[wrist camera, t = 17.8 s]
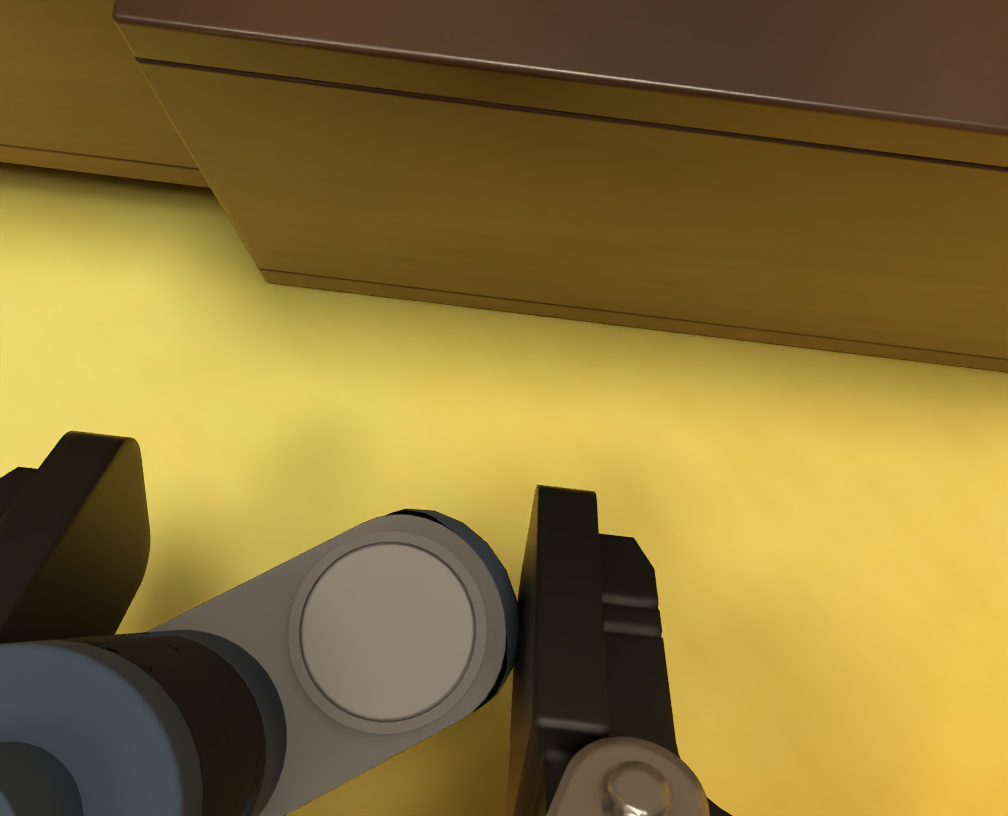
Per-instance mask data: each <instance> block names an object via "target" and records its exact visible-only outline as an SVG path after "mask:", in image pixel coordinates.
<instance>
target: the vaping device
mask: <svg viewBox="0 0 1008 816" xmlns="http://www.w3.org/2000/svg"><path fill="white" fill-rule="evenodd" d="M519 634H520V627H519V613H518V602H517V599H516V596H515V593H514V591H513V588H512V585H511V582H510V579H509V577H508V574H507V571H506V569H505V568H504V566H503V565H502V564H501V562H500V561H499V559H498V558H497V556H496V555H495V553H494V552H493V550H492V549H491V548H490V546H489V545H488V543H487V542H485V541H484V540H483V539H482V538H481V537H479V536H478V535H477V534H476V533H475V532H473V531H472V530H471V529H470V528H469V527H467V526H466V525H465V524H464V523H463V522H460V521H458V520H455V519H453V518H451V517H448V516H446V515H444V514H441V513H439V512H436V511H431V510H417V509H403V510H400V511H396V512H393V513H390V514H388V515H385V516H382V517H377V518H374V519H372V520H369V521H367V522H364V523H362V524H360V525H358V526H356V527H354V528H352V529H350V530H348V531H346V532H344V533H342V534H340V535H338V536H336V537H334V538H332V539H330V540H328V541H326V542H324V543H322V544H320V545H318V546H316V547H314V548H312V549H310V550H308V551H306V552H304V553H302V554H300V555H298V556H296V557H294V558H292V559H290V560H288V561H286V562H284V563H282V564H280V565H278V566H276V567H274V568H272V569H271V570H269V571H267V572H265V573H263V574H261V575H259V576H257V577H255V578H253V579H251V580H249V581H247V582H245V583H243V584H241V585H239V586H237V587H235V588H233V589H231V590H229V591H227V592H225V593H223V594H221V595H219V596H217V597H215V598H213V599H211V600H209V601H207V602H205V603H203V604H201V605H199V606H197V607H195V608H193V609H191V610H189V611H187V612H185V613H183V614H181V615H179V616H177V617H175V618H173V619H171V620H169V621H167V622H165V623H163V624H161V625H159V626H157V627H155V628H153V629H151V630H150V631H148V632H143V633H135V634H133V633H131V634H127V635H126V634H122V635H121V634H118V635H107V636H106V635H105V636H93V637H80V638H68V639H55V640H43V641H30V642H17V643H5V644H0V816H285V815H287V814H289V813H290V812H292V811H294V810H296V809H298V808H300V807H301V806H303V805H305V804H307V803H309V802H311V801H312V800H314V799H316V798H318V797H320V796H322V795H324V794H325V793H327V792H329V791H331V790H333V789H335V788H336V787H338V786H340V785H342V784H344V783H346V782H348V781H349V780H351V779H353V778H355V777H357V776H359V775H360V774H362V773H364V772H366V771H368V770H370V769H371V768H373V767H375V766H377V765H379V764H381V763H383V762H384V761H386V760H388V759H390V758H392V757H394V756H395V755H397V754H399V753H401V752H403V751H405V750H406V749H408V748H410V747H412V746H414V745H416V744H418V743H419V742H421V741H423V740H425V739H427V738H429V737H430V736H432V735H434V734H436V733H438V732H440V731H442V730H443V729H445V728H447V727H449V726H451V725H453V724H454V723H456V722H458V721H460V720H461V719H463V718H464V717H466V716H467V715H469V714H470V713H472V712H474V711H476V710H477V709H479V708H480V707H482V706H483V705H485V704H486V703H487V702H489V701H490V700H491V699H492V698H493V697H495V696H496V695H497V694H498V693H499V691H500V689H501V688H502V686H503V684H504V683H505V681H506V679H507V677H508V676H509V674H510V672H511V671H512V669H513V667H514V662H515V658H516V653H517V648H518V642H519ZM89 641H90V642H89ZM88 642H89V643H88ZM92 642H93V643H92ZM95 643H96V644H95Z"/></svg>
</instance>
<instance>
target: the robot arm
mask: <svg viewBox="0 0 1008 816" xmlns="http://www.w3.org/2000/svg"><path fill="white" fill-rule="evenodd" d="M149 551H150V527H149V518H148V510H147V501H146V493H145V484H144V476H143V468H142V459H141V452H140V448H139V445H138V443H137V441H136V440H135V439H134V438H129V437H120V436H112V435H104V434H95V433H87V432H78V431H70V432H67V433H66V434H65V435H64V436H63V437H62V438H61V439H60V440H59V442H58V443H57V444H56V446H55V447H54V448H53V450H52V451H51V452H50V454H49V455H48V456H47V458H46V459H45V460H44V462H43V463H42V464H41V466H40V467H39V468H38V469H33V468H25V467H17V468H16V469H14V470H12V471H11V472H9V473H8V474H6V475H4V476H3V477H1V478H0V644H5V643H17V642H30V641H43V640H55V639H68V638H80V637H93V636H105V635H106V636H107V635H114V634H115V633H116V631H117V629H118V627H119V625H120V623H121V621H122V619H123V617H124V615H125V613H126V611H127V609H128V607H129V606H130V604H131V602H132V600H133V598H134V596H135V594H136V592H137V590H138V588H139V586H140V584H141V582H142V579H143V577H144V574H145V571H146V567H147V563H148V558H149ZM518 613H519V627H520V634H519V642H518V648H517V653H516V658H515V662H514V668H513V689H512V709H511V730H510V750H509V771H508V791H507V812H506V816H732V815H730V814H729V813H727V812H726V811H724V810H722V809H721V808H719V807H718V806H717V805H716V804H714V803H713V802H712V801H711V800H710V799H708V798H707V797H706V794H705V792H704V790H703V787H702V785H701V783H700V782H699V780H698V779H697V777H696V775H695V774H694V773H693V772H692V770H691V769H690V768H689V767H688V766H687V765H686V764H685V763H684V762H683V761H682V760H681V759H680V756H679V754H678V750H677V745H676V739H675V731H674V723H673V715H672V707H671V699H670V691H669V683H668V675H667V667H666V659H665V651H664V643H663V638H661V634H662V627H661V619H660V611H659V610H658V595H657V587H656V579H655V571H654V568H653V566H652V565H651V563H650V562H649V560H648V559H647V557H646V556H645V554H644V553H643V551H642V550H641V548H640V547H639V545H638V544H637V542H636V540H635V539H634V538H631V537H623V536H614V535H606V534H599V532H598V514H597V498H596V493H595V492H594V491H586V490H577V489H569V488H561V487H552V486H544V485H537V487H536V490H535V495H534V500H533V506H532V512H531V518H530V524H529V530H528V536H527V542H526V548H525V554H524V560H523V566H522V572H521V579H520V586H519V594H518ZM89 642H90V641H89ZM89 642H88V643H89ZM92 643H93V642H92ZM95 644H96V643H95Z"/></svg>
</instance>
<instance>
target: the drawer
mask: <svg viewBox="0 0 1008 816" xmlns="http://www.w3.org/2000/svg"><path fill="white" fill-rule="evenodd" d="M114 3H115V0H0V162H6V163H14V164H22V165H30V166H38V167H46V168H54V169H62V170H71V171H79V172H87V173H95V174H103V175H111V176H119V177H127V178H136V179H144V180H152V181H160V182H168V183H176V184H184V185H192V186H201V187H209V188H210V186H209V184H208V183H207V181H206V179H205V178H204V176H203V174H202V173H201V171H200V169H199V168H198V166H197V164H196V163H195V161H194V159H193V157H192V156H191V154H190V152H189V151H188V149H187V147H186V146H185V144H184V142H183V141H182V139H181V137H180V136H179V134H178V132H177V130H176V129H175V127H174V125H173V124H172V122H171V120H170V119H169V117H168V115H167V114H166V112H165V110H164V109H163V107H162V105H161V104H160V102H159V100H158V98H157V97H156V95H155V93H154V92H153V90H152V88H151V87H150V85H149V83H148V82H147V80H146V78H145V77H144V75H143V73H142V71H141V70H140V68H139V66H138V65H137V63H136V60H135V56H134V55H133V54H132V53H131V51H130V49H129V48H128V46H127V44H126V42H125V41H124V39H123V37H122V36H121V34H120V32H119V31H118V29H117V27H116V26H115V24H114V22H113V19H112V12H113V7H114Z"/></svg>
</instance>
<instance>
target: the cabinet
mask: <svg viewBox="0 0 1008 816" xmlns="http://www.w3.org/2000/svg"><path fill="white" fill-rule="evenodd" d="M112 19H113V22H114V24H115V26H116V27H117V29H118V31H119V32H120V34H121V36H122V37H123V39H124V41H125V42H126V44H127V46H128V48H129V49H130V51H131V53H132V54H133V55H134V56H135V60H136V63H137V65H138V66H139V68H140V70H141V71H142V73H143V75H144V77H145V78H146V80H147V82H148V83H149V85H150V87H151V88H152V90H153V92H154V93H155V95H156V97H157V98H158V100H159V102H160V104H161V105H162V107H163V109H164V110H165V112H166V114H167V115H168V117H169V119H170V120H171V122H172V124H173V125H174V127H175V129H176V130H177V132H178V134H179V136H180V137H181V139H182V141H183V142H184V144H185V146H186V147H187V149H188V151H189V152H190V154H191V156H192V157H193V159H194V161H195V163H196V164H197V166H198V168H199V169H200V171H201V173H202V174H203V176H204V178H205V179H206V181H207V183H208V184H209V186H210V188H211V190H212V191H213V193H214V195H215V196H216V198H217V200H218V201H219V203H220V205H221V206H222V208H223V210H224V211H225V213H226V215H227V217H228V218H229V220H230V222H231V223H232V225H233V227H234V228H235V230H236V232H237V233H238V235H239V237H240V238H241V240H242V242H243V243H244V245H245V247H246V249H247V250H248V252H249V254H250V255H251V257H252V259H253V260H254V262H255V264H256V265H257V267H258V268H259V271H260V272H261V274H262V276H263V277H264V279H265V281H266V282H268V283H276V284H285V285H293V286H301V287H309V288H318V289H326V290H334V291H342V292H351V293H359V294H367V295H376V296H384V297H392V298H400V299H409V300H417V301H425V302H434V303H442V304H450V305H458V306H467V307H475V308H483V309H491V310H500V311H508V312H516V313H525V314H533V315H541V316H549V317H558V318H566V319H574V320H583V321H591V322H599V323H607V324H616V325H624V326H632V327H640V328H649V329H657V330H665V331H674V332H682V333H690V334H698V335H707V336H715V337H723V338H732V339H740V340H748V341H756V342H765V343H773V344H781V345H789V346H798V347H806V348H814V349H823V350H831V351H839V352H847V353H856V354H864V355H872V356H881V357H889V358H897V359H905V360H914V361H922V362H930V363H938V364H947V365H955V366H963V367H972V368H980V369H988V370H996V371H1005V372H1008V0H115V3H114V7H113V12H112Z"/></svg>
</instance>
